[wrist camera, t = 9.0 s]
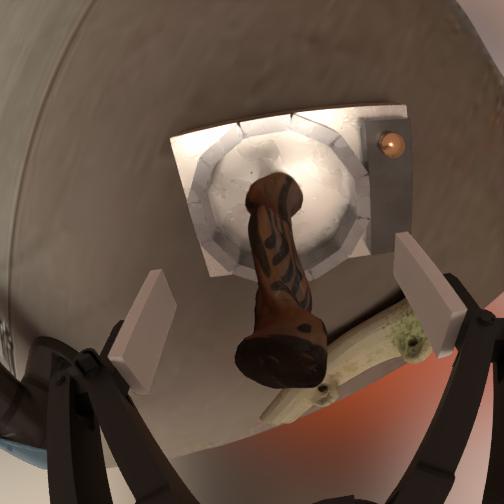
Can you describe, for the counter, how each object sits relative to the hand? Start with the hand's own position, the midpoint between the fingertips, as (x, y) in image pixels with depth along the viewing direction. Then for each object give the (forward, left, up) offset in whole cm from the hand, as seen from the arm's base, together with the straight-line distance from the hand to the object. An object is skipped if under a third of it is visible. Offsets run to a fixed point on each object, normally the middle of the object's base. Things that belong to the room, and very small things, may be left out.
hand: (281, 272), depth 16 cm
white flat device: (+2, 0, -15) cm, 15 cm away
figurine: (0, 0, -11) cm, 11 cm away
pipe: (+7, -23, -15) cm, 29 cm away
